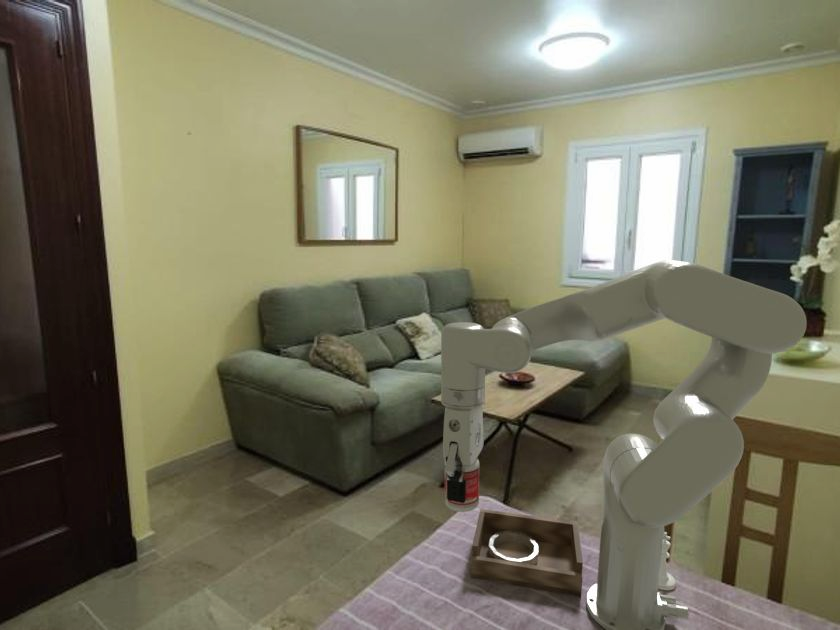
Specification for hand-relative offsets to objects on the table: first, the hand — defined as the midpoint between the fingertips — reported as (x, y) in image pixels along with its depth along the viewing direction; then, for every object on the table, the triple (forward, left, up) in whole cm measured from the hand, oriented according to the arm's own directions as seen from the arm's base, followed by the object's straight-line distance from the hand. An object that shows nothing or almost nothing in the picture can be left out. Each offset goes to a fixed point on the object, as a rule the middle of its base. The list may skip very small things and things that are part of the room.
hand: (462, 490), depth 87 cm
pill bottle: (0, 0, -3) cm, 3 cm away
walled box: (-12, -10, -19) cm, 25 cm away
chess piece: (-37, -11, -20) cm, 43 cm away
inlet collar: (-9, -10, -19) cm, 24 cm away
